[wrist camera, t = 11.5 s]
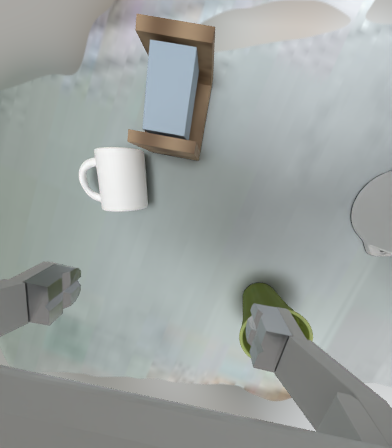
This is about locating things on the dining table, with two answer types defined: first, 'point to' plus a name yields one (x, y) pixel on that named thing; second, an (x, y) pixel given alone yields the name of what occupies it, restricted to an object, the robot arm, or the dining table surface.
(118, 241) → the dining table surface
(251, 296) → the plant pot
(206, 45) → the stand
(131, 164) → the mug
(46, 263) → the robot arm
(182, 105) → the light blue block
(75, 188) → the dining table surface
